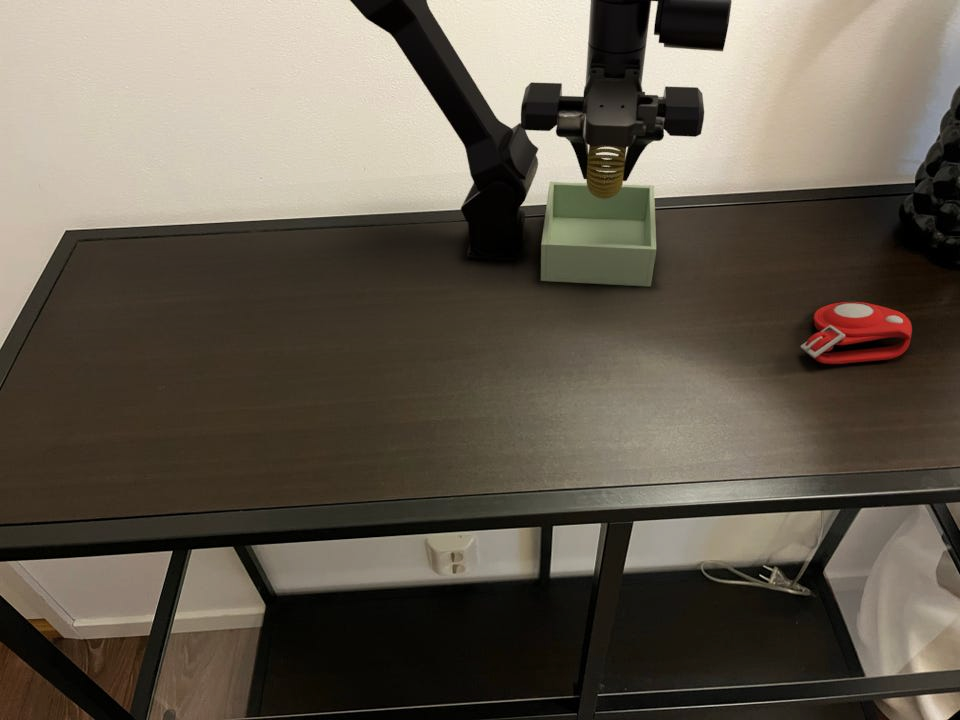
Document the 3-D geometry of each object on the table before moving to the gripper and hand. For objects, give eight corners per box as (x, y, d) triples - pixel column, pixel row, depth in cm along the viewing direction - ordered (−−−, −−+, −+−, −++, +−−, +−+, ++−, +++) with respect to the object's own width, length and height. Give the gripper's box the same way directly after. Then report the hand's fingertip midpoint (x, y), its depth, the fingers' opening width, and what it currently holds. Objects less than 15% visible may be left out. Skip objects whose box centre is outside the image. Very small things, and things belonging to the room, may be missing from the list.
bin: (540, 281, 91) (541, 244, 87) (548, 217, 100) (549, 181, 96) (650, 286, 89) (656, 249, 85) (648, 221, 98) (653, 185, 94)
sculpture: (589, 173, 89) (593, 111, 84) (623, 175, 89) (629, 112, 83) (583, 211, 84) (587, 148, 78) (619, 214, 83) (626, 150, 78)
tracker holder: (816, 290, 86) (916, 296, 81) (814, 324, 88) (911, 332, 83) (798, 337, 77) (909, 347, 72) (796, 374, 79) (904, 386, 74)
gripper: (513, 75, 70) (515, 215, 81) (719, 81, 67) (691, 224, 78) (526, 27, 77) (526, 160, 88) (712, 30, 75) (687, 167, 86)
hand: (604, 178), depth 85 cm, fingers closed on sculpture, 4 cm apart
